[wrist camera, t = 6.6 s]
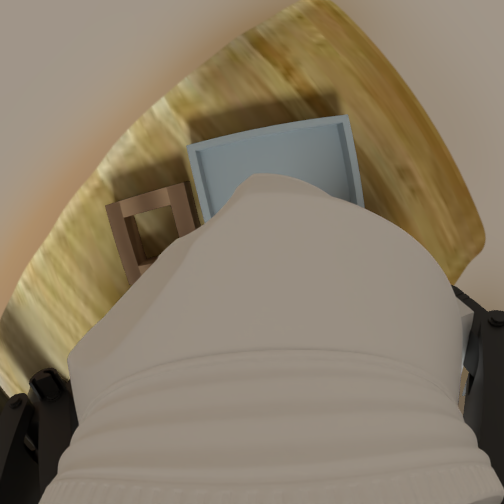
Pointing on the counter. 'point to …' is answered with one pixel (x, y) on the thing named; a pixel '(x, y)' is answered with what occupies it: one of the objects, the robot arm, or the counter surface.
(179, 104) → the counter surface
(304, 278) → the jar
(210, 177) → the tray
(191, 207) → the hollow square tube
